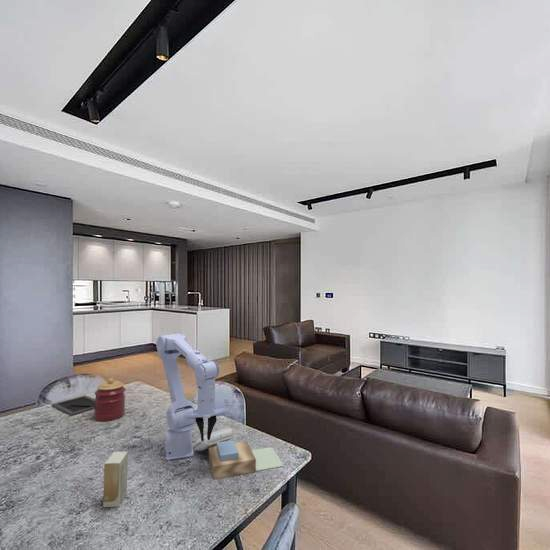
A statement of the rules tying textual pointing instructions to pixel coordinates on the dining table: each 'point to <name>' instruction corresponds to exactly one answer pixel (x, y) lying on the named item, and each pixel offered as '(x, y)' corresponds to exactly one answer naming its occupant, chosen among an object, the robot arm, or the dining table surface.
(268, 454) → the mat
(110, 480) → the skincare box
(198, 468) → the dining table surface
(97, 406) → the canister
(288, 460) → the dining table surface
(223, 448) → the blue box
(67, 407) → the picture frame
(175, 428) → the robot arm
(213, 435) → the photo printer
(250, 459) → the light brown flat block
